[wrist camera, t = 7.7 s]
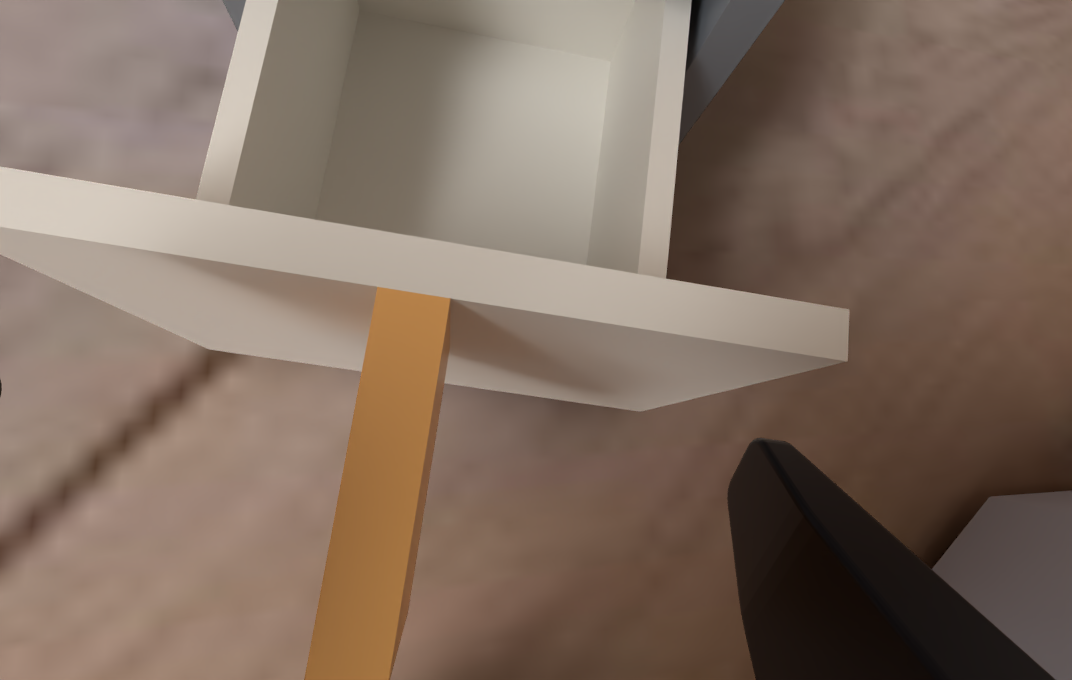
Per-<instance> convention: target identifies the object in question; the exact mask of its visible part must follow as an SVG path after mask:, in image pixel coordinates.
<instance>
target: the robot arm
mask: <svg viewBox="0 0 1072 680" xmlns="http://www.w3.org/2000/svg"><path fill="white" fill-rule="evenodd" d="M1 391H2V386H1V380H0V396H1ZM727 499H728V509H729V518H730V526H731V535H732V543H733V552H734V560H735V569H736V577H737V586H738V594H739V601H740V608H741V615H742V620H743V624H744V629H745V634H746V639H747V643H748V647H749V652H750V656H751V660H752V665H753V669H754V673H755V678H756V680H1056V679H1055V678H1054V677H1052V676H1051V675H1050V674H1049V673H1048V672H1047V671H1046V670H1045V669H1043V668H1042V667H1041V666H1040V665H1039V664H1038V663H1037V662H1036V661H1034V660H1033V659H1032V658H1031V657H1030V656H1029V655H1028V654H1027V653H1025V652H1024V651H1023V650H1022V649H1021V648H1020V647H1019V646H1018V645H1016V644H1015V643H1014V642H1013V641H1012V640H1011V639H1010V638H1008V637H1007V636H1006V635H1005V634H1004V633H1003V632H1002V631H1001V630H999V629H998V628H997V627H996V626H995V625H994V624H993V623H992V622H990V621H989V620H988V619H987V618H986V617H985V616H984V615H983V614H981V613H980V612H979V611H978V610H977V609H976V608H975V607H974V606H972V605H971V604H970V603H969V602H968V601H967V600H966V599H965V598H963V597H962V596H961V595H960V594H959V593H958V592H957V591H956V590H954V589H953V588H952V587H951V586H950V585H949V584H948V583H947V582H945V581H944V580H943V579H942V578H941V577H940V576H939V575H938V574H936V573H935V572H934V571H933V570H932V569H931V568H930V567H928V566H927V565H926V564H925V563H924V562H923V561H922V560H921V559H919V558H918V557H917V556H916V555H915V554H914V553H913V552H912V551H910V550H909V549H908V548H907V547H906V546H905V545H904V544H903V543H901V542H900V541H899V540H898V539H897V538H896V537H895V536H894V535H892V534H891V533H890V532H889V531H888V530H887V529H886V528H885V527H883V526H882V525H881V524H880V523H879V522H878V521H877V520H876V519H874V518H873V517H872V516H871V515H870V514H869V513H868V512H867V511H865V510H864V509H863V508H862V507H861V506H860V505H859V504H858V503H856V502H855V501H854V500H853V499H852V498H851V497H850V496H849V495H847V494H846V493H845V492H844V491H843V490H842V489H841V488H839V487H838V486H837V485H836V484H835V483H834V482H833V481H832V480H830V479H829V478H828V477H827V476H826V475H825V474H824V473H823V472H821V471H820V470H819V469H818V468H817V467H816V466H815V465H814V464H812V463H811V462H810V461H809V460H808V459H807V458H806V457H805V456H803V455H802V454H801V453H800V452H799V451H798V450H797V449H796V448H794V447H793V446H792V445H791V444H789V443H787V442H785V441H779V440H772V439H765V438H757V439H754V440H753V441H752V442H751V443H750V444H749V446H748V448H747V450H746V452H745V453H744V455H743V457H742V459H741V461H740V463H739V465H738V467H737V469H736V471H735V473H734V475H733V477H732V479H731V481H730V484H729V488H728V497H727Z"/></svg>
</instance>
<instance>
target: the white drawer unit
mask: <svg viewBox="0 0 1072 680" xmlns="http://www.w3.org/2000/svg"><path fill="white" fill-rule="evenodd" d="M691 2H692V0H246V2H245V6H244V10H243V14H242V18H241V22H240V26H239V30H238V34H237V38H236V42H235V46H234V50H233V54H232V58H231V62H230V66H229V70H228V74H227V78H226V81H225V85H224V89H223V93H222V97H221V101H220V105H219V109H218V113H217V117H216V121H215V125H214V129H213V133H212V137H211V141H210V145H209V149H208V153H207V157H206V161H205V165H204V169H203V172H202V176H201V180H200V184H199V188H198V192H197V196H196V199H190V198H184V197H178V196H172V195H166V194H160V193H154V192H148V191H142V190H136V189H130V188H124V187H118V186H112V185H106V184H101V183H95V182H89V181H83V180H77V179H71V178H65V177H59V176H53V175H47V174H41V173H35V172H29V171H23V170H17V169H11V168H5V167H0V254H1V255H3V256H5V257H7V258H9V259H12V260H14V261H16V262H18V263H20V264H23V265H25V266H27V267H29V268H31V269H34V270H36V271H38V272H40V273H42V274H45V275H47V276H49V277H51V278H53V279H56V280H58V281H60V282H62V283H64V284H67V285H69V286H71V287H73V288H75V289H78V290H80V291H82V292H84V293H86V294H89V295H91V296H93V297H95V298H97V299H100V300H102V301H104V302H106V303H108V304H111V305H113V306H115V307H117V308H119V309H122V310H124V311H126V312H128V313H130V314H133V315H135V316H137V317H139V318H141V319H144V320H146V321H148V322H150V323H152V324H155V325H157V326H159V327H161V328H163V329H165V330H168V331H170V332H172V333H174V334H176V335H179V336H181V337H183V338H185V339H187V340H190V341H192V342H194V343H196V344H198V345H201V346H203V347H205V348H207V349H210V350H217V351H224V352H231V353H238V354H245V355H252V356H259V357H266V358H273V359H279V360H286V361H293V362H300V363H307V364H314V365H321V366H328V367H335V368H342V369H349V370H356V371H362V372H361V378H360V383H359V389H358V394H357V399H356V405H355V410H354V415H353V421H352V426H351V432H350V437H349V442H348V448H347V453H346V458H345V464H344V469H343V475H342V480H341V485H340V491H339V496H338V501H337V507H336V512H335V518H334V523H333V528H332V534H331V539H330V544H329V550H328V555H327V561H326V566H325V571H324V577H323V582H322V587H321V593H320V598H319V604H318V609H317V614H316V620H315V625H314V630H313V636H312V641H311V647H310V652H309V657H308V663H307V668H306V673H305V679H304V680H390V677H391V674H392V670H393V666H394V662H395V659H396V655H397V651H398V647H399V644H400V640H401V636H402V632H403V629H404V625H405V621H406V617H407V614H408V608H409V602H410V596H411V589H412V583H413V577H414V571H415V564H416V558H417V552H418V545H419V539H420V533H421V527H422V520H423V514H424V508H425V501H426V495H427V489H428V483H429V476H430V470H431V464H432V457H433V451H434V445H435V439H436V432H437V426H438V420H439V414H440V407H441V401H442V395H443V388H444V383H446V384H453V385H459V386H466V387H473V388H480V389H487V390H494V391H501V392H508V393H515V394H522V395H529V396H536V397H543V398H549V399H556V400H563V401H570V402H577V403H584V404H591V405H598V406H605V407H612V408H619V409H626V410H633V411H639V412H642V411H646V410H650V409H654V408H658V407H662V406H667V405H671V404H675V403H679V402H683V401H687V400H691V399H695V398H699V397H704V396H708V395H712V394H716V393H720V392H724V391H728V390H732V389H736V388H741V387H745V386H749V385H753V384H757V383H761V382H765V381H769V380H773V379H778V378H782V377H786V376H790V375H794V374H798V373H802V372H806V371H810V370H815V369H819V368H823V367H827V366H831V365H835V364H839V363H843V362H847V361H848V336H849V309H844V308H838V307H832V306H826V305H820V304H814V303H808V302H802V301H796V300H790V299H784V298H778V297H772V296H766V295H760V294H754V293H748V292H743V291H737V290H731V289H725V288H719V287H713V286H707V285H701V284H695V283H689V282H683V281H677V280H671V279H666V274H667V264H668V253H669V242H670V231H671V220H672V209H673V198H674V187H675V177H676V166H677V155H678V144H679V133H680V122H681V111H682V100H683V89H684V79H685V68H686V57H687V46H688V35H689V24H690V13H691Z"/></svg>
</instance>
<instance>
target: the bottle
mask: <svg viewBox="0 0 1072 680" xmlns="http://www.w3.org/2000/svg"><path fill="white" fill-rule="evenodd" d="M932 570H933V571H934V572H935V573H936V574H938V575H939V576H940V577H941V578H942V579H943V580H944V581H945V582H947V583H948V584H949V585H950V586H951V587H952V588H953V589H954V590H956V591H957V592H958V593H959V594H960V595H961V596H962V597H963V598H965V599H966V600H967V601H968V602H969V603H970V604H971V605H972V606H974V607H975V608H976V609H977V610H978V611H979V612H980V613H981V614H983V615H984V616H985V617H986V618H987V619H988V620H989V621H990V622H992V623H993V624H994V625H995V626H996V627H997V628H998V629H999V630H1001V631H1002V632H1003V633H1004V634H1005V635H1006V636H1007V637H1008V638H1010V639H1011V640H1012V641H1013V642H1014V643H1015V644H1016V645H1018V646H1019V647H1020V648H1021V649H1022V650H1023V651H1024V652H1025V653H1027V654H1028V655H1029V656H1030V657H1031V658H1032V659H1033V660H1034V661H1036V662H1037V663H1038V664H1039V665H1040V666H1041V667H1042V668H1043V669H1045V670H1046V671H1047V672H1048V673H1049V674H1050V675H1051V676H1052V677H1054V678H1055V679H1056V680H1072V491H1059V492H1046V493H1032V494H1018V495H1005V496H991V497H989V498H988V499H987V501H986V502H985V503H984V504H983V506H982V507H981V508H980V509H979V511H978V512H977V513H976V514H975V516H974V517H973V518H972V519H971V521H970V522H969V523H968V524H967V526H966V527H965V528H964V529H963V531H962V532H961V533H960V534H959V536H958V537H957V538H956V540H955V541H954V542H953V543H952V545H951V546H950V547H949V548H948V550H947V551H946V552H945V553H944V555H943V556H942V557H941V558H940V560H939V561H938V562H937V563H936V565H935V566H934V567H933V568H932Z"/></svg>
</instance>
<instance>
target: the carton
mask: <svg viewBox="0 0 1072 680" xmlns="http://www.w3.org/2000/svg"><path fill="white" fill-rule="evenodd" d="M784 1H785V0H692V2H691V13H690V24H689V35H688V46H687V57H686V68H685V79H684V89H683V100H682V111H681V122H680V133H679V144H680V142H681V141H682V140H683V138H684V137H685V136H686V134H687V133H688V132H689V130H690V129H691V127H692V126H693V125H694V123H695V122H696V121H697V119H698V118H699V117H700V115H701V114H702V112H703V111H704V110H705V108H706V107H707V106H708V104H709V103H710V102H711V100H712V99H713V97H714V96H715V95H716V93H717V92H718V91H719V89H720V88H721V87H722V85H723V84H724V82H725V81H726V80H727V78H728V77H729V76H730V74H731V73H732V72H733V70H734V69H735V67H736V66H737V65H738V63H739V62H740V61H741V59H742V58H743V57H744V55H745V54H746V52H747V51H748V50H749V48H750V47H751V46H752V44H753V43H754V42H755V40H756V39H757V37H758V36H759V35H760V33H761V32H762V31H763V29H764V28H765V27H766V25H767V24H768V22H769V21H770V20H771V18H772V17H773V16H774V14H775V13H776V12H777V10H778V9H779V7H780V6H781V5H782V3H783V2H784ZM223 2H224V4H225V6H226V8H227V10H228V12H229V14H230V16H231V18H232V21H233V23H234V25H235V27H236V29H237V31H238V30H239V26H240V22H241V18H242V14H243V10H244V6H245V2H246V0H223ZM679 144H678V145H679Z"/></svg>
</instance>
